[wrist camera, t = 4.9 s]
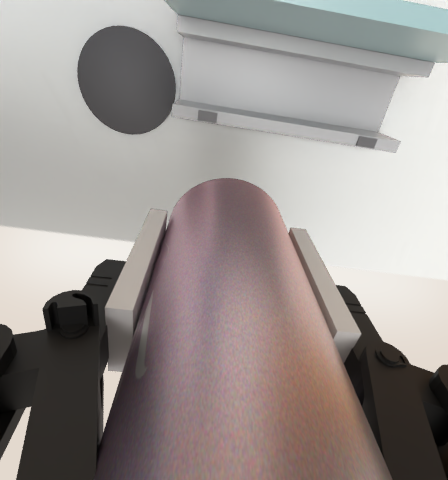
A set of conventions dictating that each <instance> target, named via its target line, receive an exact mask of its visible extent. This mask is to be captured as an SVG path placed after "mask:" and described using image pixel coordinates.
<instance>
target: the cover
mask: <svg viewBox="0 0 448 480" xmlns="http://www.w3.org/2000/svg"><path fill="white" fill-rule="evenodd" d="M164 1H165V2H166V3H167V4H168V5H169V6H170V7H171V8H172V9H173V10H174V11H175V12H176V13H177V14H178V15H181V16H187V17H192V18H197V19H203V20H208V21H214V22H219V23H224V24H230V25H235V26H240V27H246V28H251V29H256V30H262V31H267V32H272V33H278V34H283V35H288V36H294V37H299V38H304V39H310V40H315V41H321V42H326V43H331V44H337V45H342V46H347V47H353V48H358V49H363V50H369V51H374V52H379V53H385V54H390V55H395V56H401V57H406V58H411V59H417V60H422V61H428V62H433V63H434V62H436V63H448V9H443V8H438V7H433V6H428V5H423V4H418V3H413V2H408V1H403V0H164Z"/></svg>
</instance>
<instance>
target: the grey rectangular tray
mask: <svg viewBox="0 0 448 480" xmlns="http://www.w3.org/2000/svg"><path fill="white" fill-rule="evenodd" d="M177 32H178V33H180V34H181V35H182V36H183V37H184V39H183V54H182V68H181V82H180V96H179V100H177V101H176V102H175V103H173V104H172V117H176V118H182V119H188V120H195V121H201V122H207V123H213V124H219V125H226V126H232V127H238V128H244V129H251V130H257V131H263V132H269V133H275V134H282V135H288V136H294V137H300V138H306V139H313V140H319V141H325V142H331V143H337V144H344V145H350V146H356V147H362V148H369V149H375V150H381V151H387V152H393V153H396V151H397V149H398V147H399V144H400V142H401V141H398V140H396V139H394V138H391V137H389V136H386V135H384V134H381V133H379V129H380V126H381V124H382V121H383V119H384V116H385V114H386V111H387V109H388V106H389V103H390V101H391V98H392V96H393V93H394V91H395V88H396V86H397V83H398V80H399V78H400V76H409V77H429V75H430V73H431V70H432V68H433V66H434V64H435V63H433V62H428V61H422V60H417V59H411V58H406V57H401V56H395V55H390V54H385V53H379V52H374V51H369V50H363V49H358V48H353V47H347V46H342V45H337V44H331V43H326V42H321V41H315V40H310V39H304V38H299V37H294V36H288V35H283V34H278V33H272V32H267V31H262V30H256V29H251V28H246V27H240V26H235V25H230V24H224V23H219V22H214V21H208V20H203V19H197V18H192V17H187V16H181V15H178V19H177Z"/></svg>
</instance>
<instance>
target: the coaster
mask: <svg viewBox="0 0 448 480" xmlns="http://www.w3.org/2000/svg"><path fill="white" fill-rule="evenodd" d="M78 82H79V87H80V90H81V93H82V96H83V98H84V100H85V102H86V104H87V106H88V107H89V109H90V110H91V111H92V113H93V114H94V115H95V116H96V117H97V118H98V119H99V120H100V121H101V122H102V123H104V124H105V125H107V126H108V127H110V128H112V129H114V130H116V131H118V132H121V133H126V134H142V133H146V132H149V131H151V130H153V129H155V128H156V127H158V126H159V125H160V124H161V123H162V122H163V121H164V120H165V119H166V118H167V116H168V115H169V113H170V111H171V109H172V104H173V103H174V99H175V78H174V74H173V70H172V67H171V64H170V62H169V60H168V58H167V56H166V55H165V53H164V52H163V50H162V49H161V48H160V46H159V45H158V44H157V43H156V42H155V41H154V40H153V39H151V38H150V37H149V36H148V35H146V34H144V33H142V32H141V31H138V30H136V29H134V28H130V27H126V26H111V27H107V28H104V29H102V30H100V31H98V32H96V33H95V34H94V35H93V36H91V37H90V38H89V40H88V41H87V42H86V43H85V45H84V47H83V49H82V51H81V54H80V57H79V61H78Z"/></svg>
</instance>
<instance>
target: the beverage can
mask: <svg viewBox="0 0 448 480" xmlns="http://www.w3.org/2000/svg"><path fill="white" fill-rule="evenodd" d="M94 480H392V477H391V475H390V472H389V470H388V468H387V465H386V463H385V461H384V458H383V456H382V454H381V451H380V449H379V446H378V444H377V442H376V439H375V437H374V435H373V432H372V430H371V427H370V425H369V423H368V420H367V418H366V416H365V413H364V411H363V409H362V406H361V404H360V401H359V399H358V397H357V394H356V392H355V390H354V387H353V385H352V383H351V380H350V378H349V375H348V373H347V371H346V368H345V366H344V364H343V361H342V359H341V357H340V354H339V352H338V349H337V347H336V345H335V342H334V340H333V338H332V335H331V333H330V331H329V328H328V326H327V323H326V321H325V319H324V316H323V314H322V312H321V309H320V307H319V305H318V302H317V300H316V297H315V295H314V293H313V290H312V288H311V286H310V283H309V281H308V278H307V276H306V274H305V271H304V269H303V267H302V264H301V262H300V260H299V257H298V255H297V252H296V250H295V248H294V245H293V243H292V241H291V238H290V236H289V234H288V231H287V229H286V226H285V224H284V222H283V219H282V217H281V215H280V212H279V210H278V208H277V206H276V204H275V203H274V201H273V200H272V199H271V197H270V196H269V195H268V194H267V193H265V192H264V191H263V190H262V189H260V188H259V187H257V186H255V185H253V184H251V183H249V182H246V181H243V180H238V179H230V178H222V179H214V180H210V181H206V182H204V183H201V184H199V185H197V186H195V187H193V188H192V189H190V190H189V191H188V192H187V193H185V194H184V195H183V196H182V197H181V198H180V200H179V201H178V202H177V204H176V205H175V207H174V209H173V211H172V214H171V217H170V220H169V223H168V226H167V230H166V233H165V236H164V239H163V242H162V246H161V249H160V252H159V255H158V259H157V262H156V265H155V268H154V271H153V275H152V278H151V281H150V284H149V288H148V291H147V294H146V297H145V300H144V304H143V307H142V310H141V313H140V317H139V320H138V323H137V326H136V329H135V333H134V336H133V339H132V342H131V345H130V349H129V352H128V355H127V358H126V362H125V365H124V368H123V371H122V375H121V378H120V381H119V384H118V387H117V391H116V394H115V397H114V400H113V403H112V407H111V410H110V413H109V417H108V420H107V423H106V427H105V429H104V432H103V436H102V439H101V442H100V445H99V449H98V455H97V465H96V473H95V477H94Z"/></svg>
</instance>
